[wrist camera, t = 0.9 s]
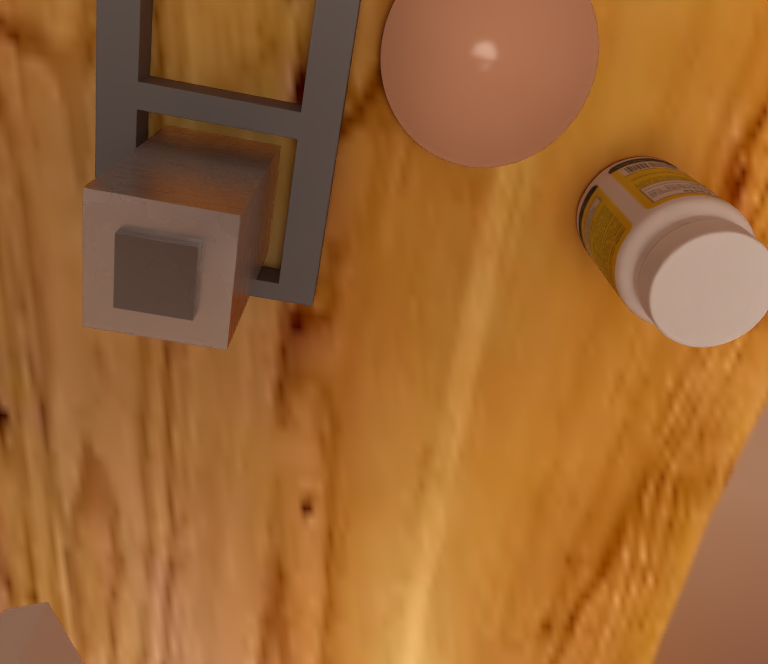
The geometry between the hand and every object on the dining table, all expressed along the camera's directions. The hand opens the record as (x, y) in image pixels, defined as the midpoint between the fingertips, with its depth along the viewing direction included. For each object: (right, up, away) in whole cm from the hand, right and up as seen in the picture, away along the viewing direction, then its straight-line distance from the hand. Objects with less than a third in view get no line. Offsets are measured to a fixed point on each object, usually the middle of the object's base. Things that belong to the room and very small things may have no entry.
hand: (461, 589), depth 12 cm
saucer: (+3, +14, +16) cm, 22 cm away
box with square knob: (-8, +10, +18) cm, 22 cm away
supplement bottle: (+9, +9, +19) cm, 23 cm away
